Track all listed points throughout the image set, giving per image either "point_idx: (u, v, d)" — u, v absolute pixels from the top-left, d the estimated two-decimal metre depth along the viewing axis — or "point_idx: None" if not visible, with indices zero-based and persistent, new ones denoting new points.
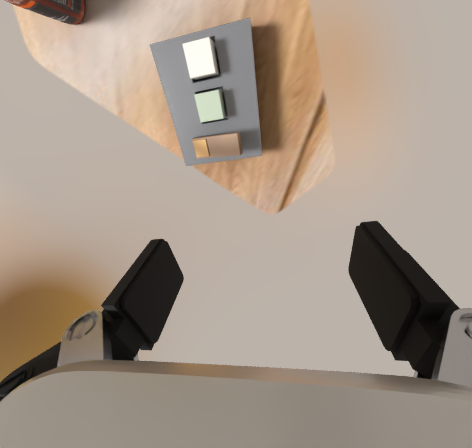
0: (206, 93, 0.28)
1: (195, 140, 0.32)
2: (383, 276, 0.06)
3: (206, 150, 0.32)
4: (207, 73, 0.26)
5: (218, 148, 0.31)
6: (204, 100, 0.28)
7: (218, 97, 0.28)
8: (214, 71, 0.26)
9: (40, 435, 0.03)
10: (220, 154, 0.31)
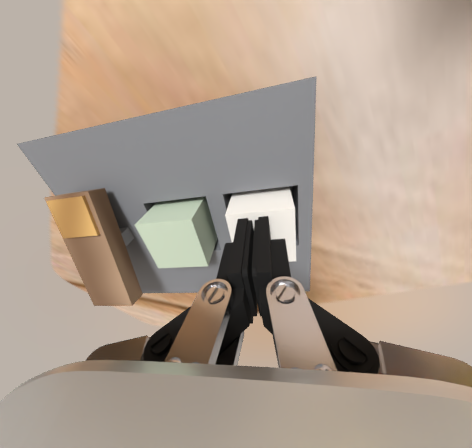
0: (198, 245, 0.12)
1: (87, 202, 0.11)
2: None
3: (73, 233, 0.12)
4: None
5: (90, 262, 0.13)
6: (183, 238, 0.11)
7: (194, 265, 0.13)
8: None
9: (40, 435, 0.03)
10: (80, 265, 0.13)
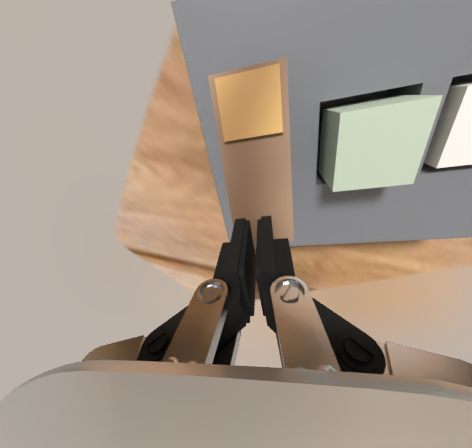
0: (421, 145, 0.08)
1: (279, 77, 0.08)
2: None
3: (243, 132, 0.09)
4: (446, 146, 0.10)
5: (251, 179, 0.10)
6: (405, 134, 0.08)
7: (392, 182, 0.09)
8: (439, 165, 0.10)
9: (40, 435, 0.03)
10: (233, 185, 0.10)
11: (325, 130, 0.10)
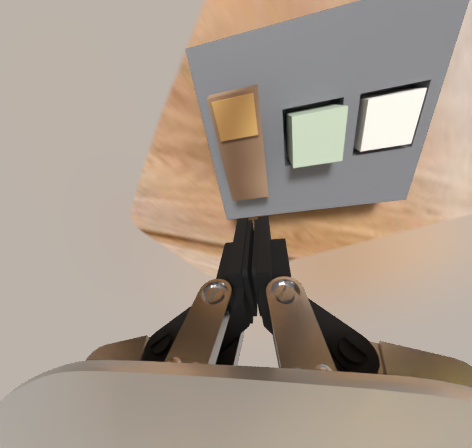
0: (342, 136, 0.14)
1: (253, 100, 0.12)
2: None
3: (233, 135, 0.13)
4: (364, 136, 0.15)
5: (240, 162, 0.15)
6: (331, 129, 0.14)
7: (329, 160, 0.15)
8: (362, 149, 0.16)
9: (40, 435, 0.03)
10: (229, 166, 0.15)
11: (287, 127, 0.16)
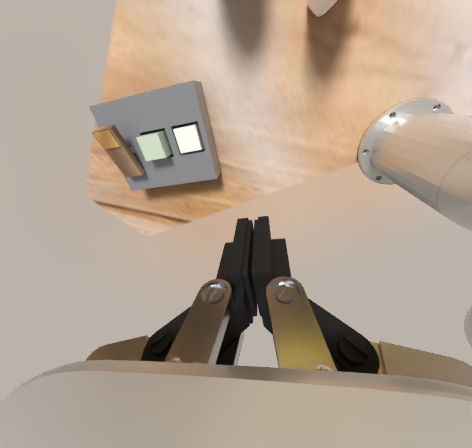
0: (161, 146, 0.30)
1: (111, 132, 0.28)
2: None
3: (109, 146, 0.29)
4: (179, 146, 0.31)
5: (119, 158, 0.31)
6: (154, 143, 0.30)
7: (160, 157, 0.31)
8: (181, 152, 0.31)
9: (40, 435, 0.03)
10: (115, 160, 0.31)
11: None
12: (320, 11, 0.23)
